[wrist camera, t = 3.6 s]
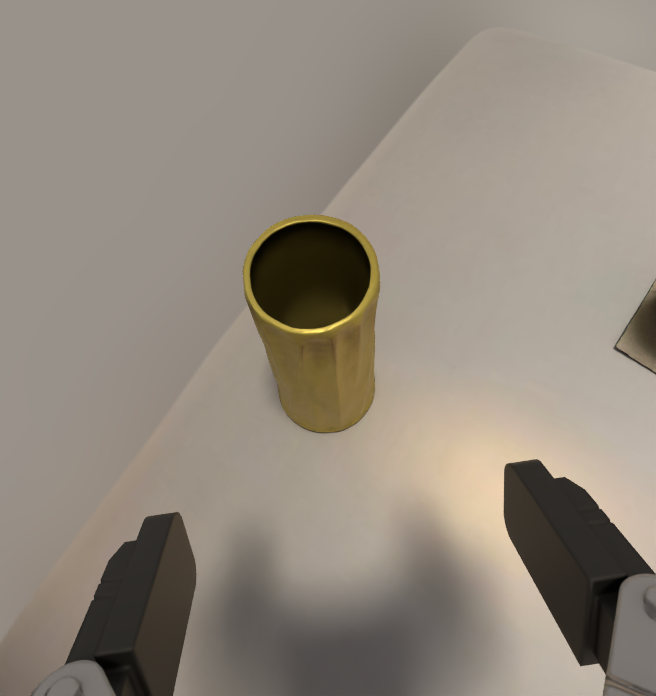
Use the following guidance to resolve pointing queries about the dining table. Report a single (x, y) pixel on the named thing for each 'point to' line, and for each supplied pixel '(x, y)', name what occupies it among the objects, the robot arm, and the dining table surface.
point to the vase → (316, 317)
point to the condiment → (642, 333)
